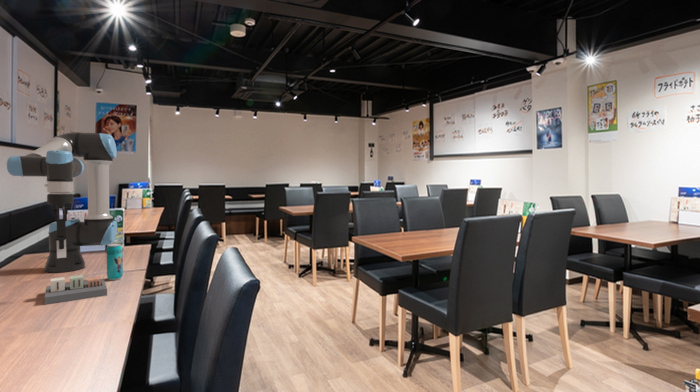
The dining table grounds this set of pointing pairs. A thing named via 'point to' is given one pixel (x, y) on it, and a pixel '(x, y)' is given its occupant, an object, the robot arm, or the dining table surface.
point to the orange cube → (94, 282)
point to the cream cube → (57, 284)
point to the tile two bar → (76, 282)
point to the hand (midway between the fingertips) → (61, 257)
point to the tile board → (75, 293)
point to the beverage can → (114, 262)
